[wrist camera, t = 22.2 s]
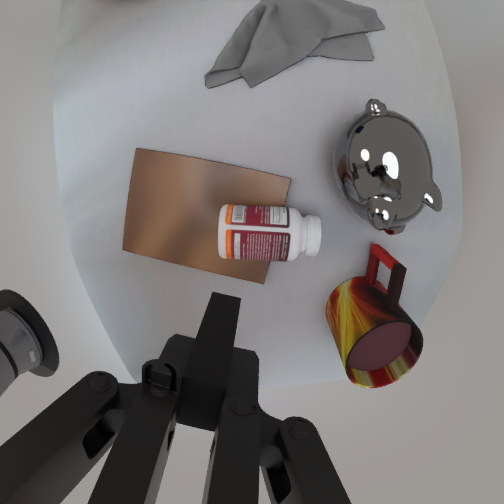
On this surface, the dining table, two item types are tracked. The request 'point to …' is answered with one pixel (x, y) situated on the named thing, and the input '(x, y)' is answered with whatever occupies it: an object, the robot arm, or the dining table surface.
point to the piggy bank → (384, 168)
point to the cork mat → (193, 209)
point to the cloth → (293, 38)
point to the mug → (374, 325)
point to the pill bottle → (267, 233)
